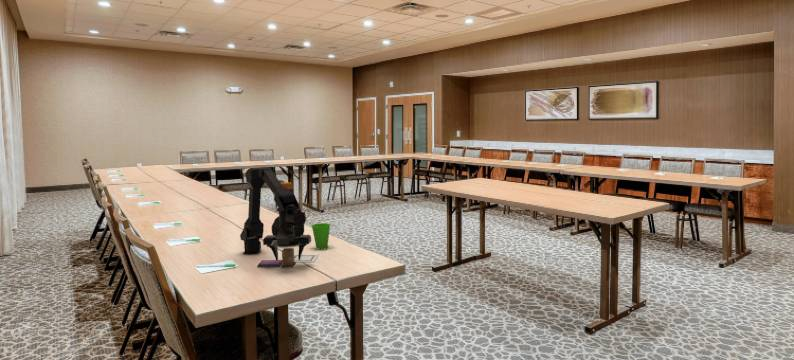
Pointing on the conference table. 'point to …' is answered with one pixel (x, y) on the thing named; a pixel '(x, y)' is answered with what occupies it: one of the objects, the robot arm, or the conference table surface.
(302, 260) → the frame
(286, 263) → the stamp
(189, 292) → the conference table surface
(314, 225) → the cup
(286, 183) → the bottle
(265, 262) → the ink pad
